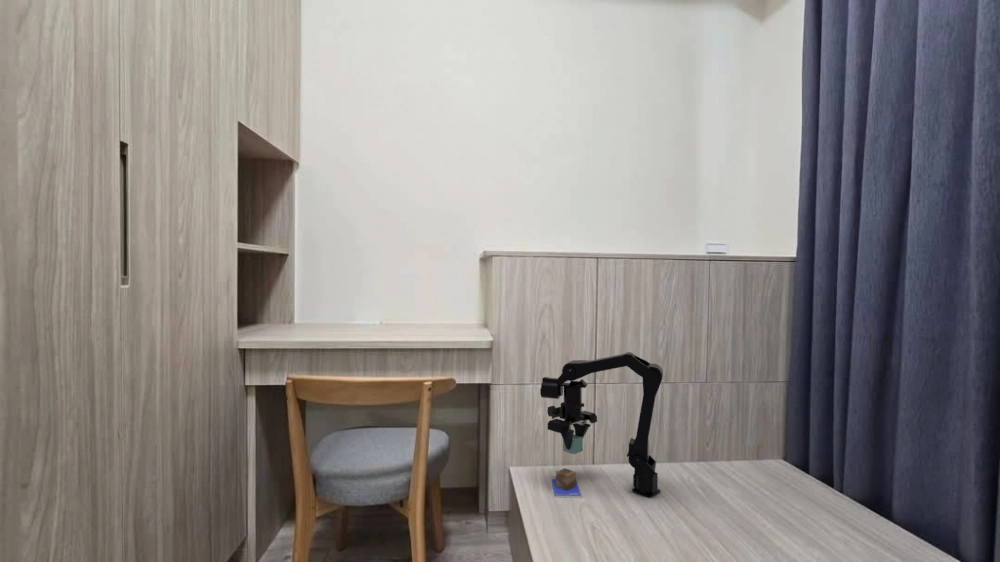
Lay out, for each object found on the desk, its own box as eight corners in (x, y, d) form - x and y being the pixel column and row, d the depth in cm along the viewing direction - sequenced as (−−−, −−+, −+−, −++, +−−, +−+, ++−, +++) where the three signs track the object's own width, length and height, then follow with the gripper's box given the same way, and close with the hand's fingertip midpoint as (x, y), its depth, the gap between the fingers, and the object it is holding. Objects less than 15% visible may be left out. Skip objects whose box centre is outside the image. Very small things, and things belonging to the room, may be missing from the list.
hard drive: (581, 495, 145) (576, 478, 158) (554, 494, 146) (551, 478, 158) (581, 500, 145) (576, 483, 158) (554, 499, 146) (551, 483, 158)
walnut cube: (576, 486, 152) (576, 471, 152) (567, 490, 149) (567, 476, 149) (564, 482, 155) (564, 468, 155) (556, 486, 152) (555, 472, 152)
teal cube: (582, 450, 157) (582, 437, 157) (573, 454, 154) (573, 440, 154) (572, 447, 161) (571, 434, 161) (563, 450, 158) (563, 436, 158)
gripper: (572, 391, 170) (572, 435, 170) (535, 400, 157) (535, 448, 157) (597, 397, 161) (598, 443, 161) (560, 406, 149) (561, 457, 149)
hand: (573, 447), depth 157 cm, fingers closed on teal cube, 4 cm apart
